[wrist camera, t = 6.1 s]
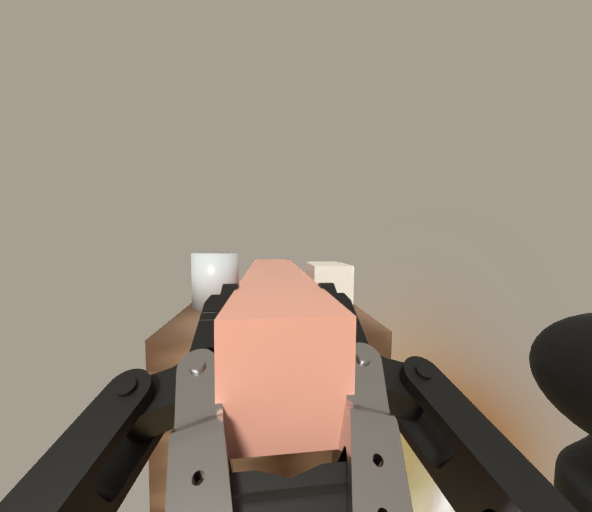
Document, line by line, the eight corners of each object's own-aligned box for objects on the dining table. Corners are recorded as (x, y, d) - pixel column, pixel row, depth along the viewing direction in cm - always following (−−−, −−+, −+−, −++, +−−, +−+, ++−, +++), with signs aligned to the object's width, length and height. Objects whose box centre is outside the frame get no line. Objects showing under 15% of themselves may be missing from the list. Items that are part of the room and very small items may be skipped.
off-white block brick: (337, 297, 27) (338, 261, 27) (353, 310, 22) (354, 266, 22) (305, 298, 27) (305, 261, 27) (314, 310, 22) (314, 266, 22)
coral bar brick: (288, 291, 30) (288, 259, 30) (353, 448, 7) (356, 316, 7) (255, 292, 30) (255, 259, 29) (215, 460, 7) (213, 320, 7)
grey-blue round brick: (240, 300, 26) (240, 252, 25) (235, 311, 21) (235, 254, 21) (199, 300, 25) (198, 252, 25) (185, 312, 21) (184, 254, 21)
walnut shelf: (331, 528, 33) (335, 291, 31) (378, 740, 19) (391, 331, 17) (207, 544, 31) (203, 293, 29) (158, 792, 17) (145, 340, 15)
